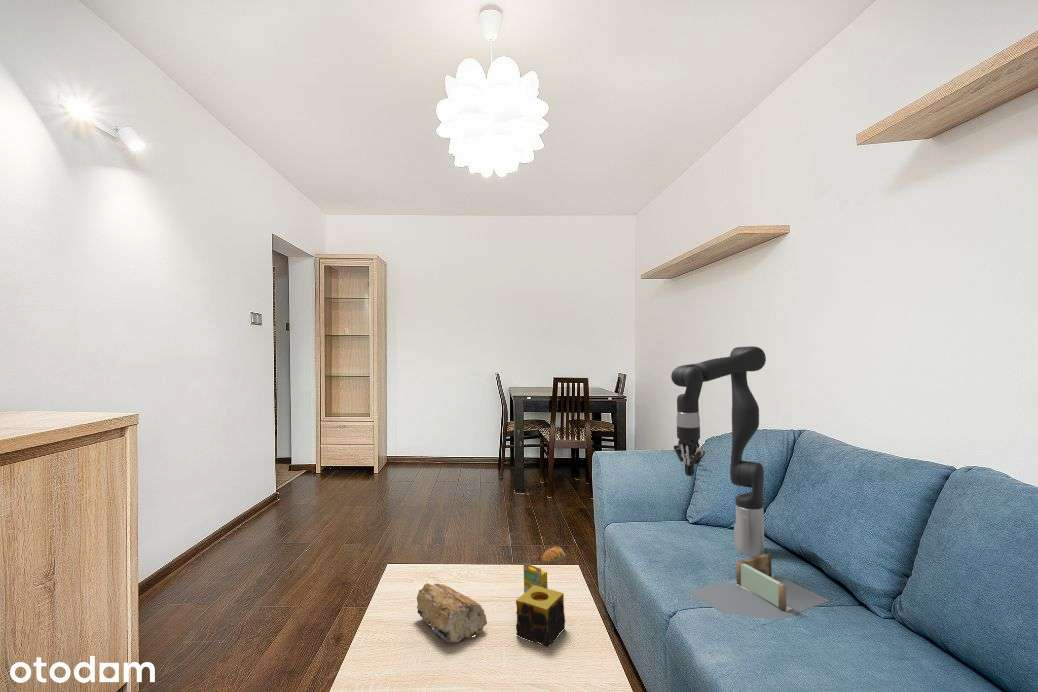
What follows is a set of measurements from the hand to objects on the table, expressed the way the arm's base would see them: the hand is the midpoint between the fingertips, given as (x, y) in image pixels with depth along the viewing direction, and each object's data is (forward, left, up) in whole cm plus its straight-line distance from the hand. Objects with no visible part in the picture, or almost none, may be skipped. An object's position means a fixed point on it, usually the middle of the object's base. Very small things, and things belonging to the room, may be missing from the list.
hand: (689, 475), depth 171 cm
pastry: (-29, -38, -32) cm, 58 cm away
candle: (+10, -63, -32) cm, 72 cm away
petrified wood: (-5, -84, -32) cm, 90 cm away
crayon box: (-5, -57, -32) cm, 66 cm away
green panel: (+24, +4, -31) cm, 40 cm away
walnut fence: (+16, +13, -32) cm, 38 cm away
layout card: (+24, +3, -32) cm, 40 cm away
